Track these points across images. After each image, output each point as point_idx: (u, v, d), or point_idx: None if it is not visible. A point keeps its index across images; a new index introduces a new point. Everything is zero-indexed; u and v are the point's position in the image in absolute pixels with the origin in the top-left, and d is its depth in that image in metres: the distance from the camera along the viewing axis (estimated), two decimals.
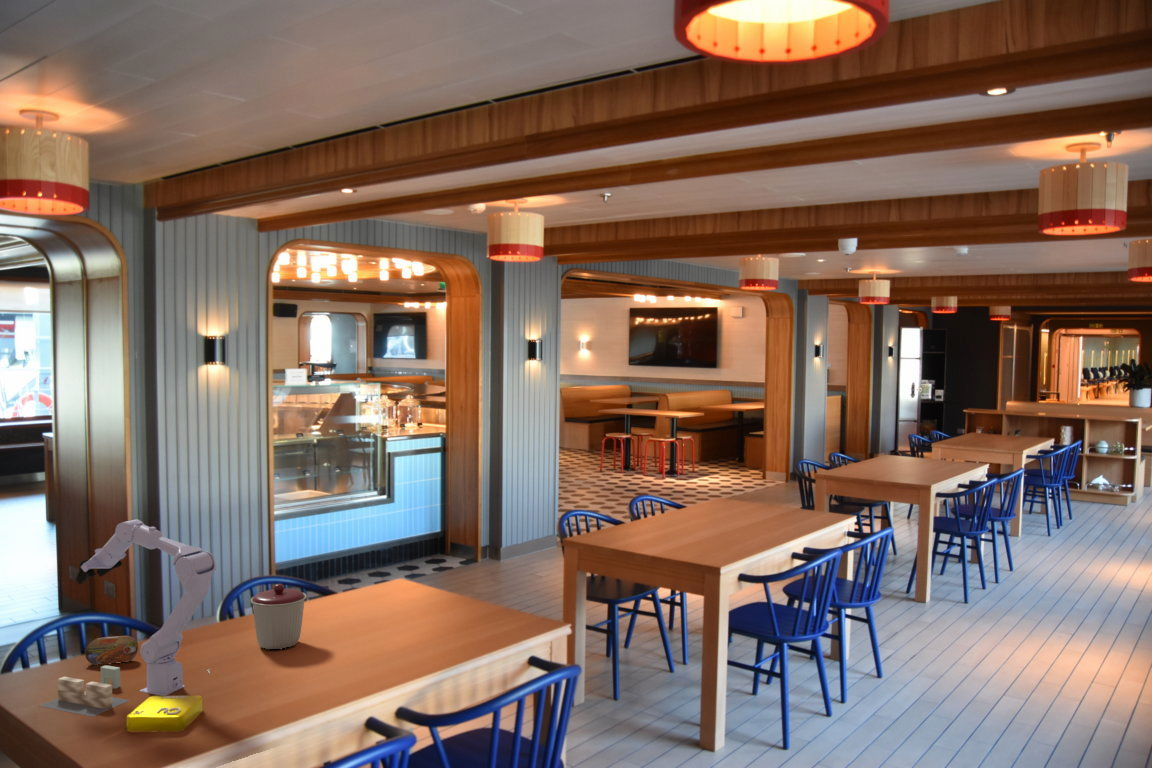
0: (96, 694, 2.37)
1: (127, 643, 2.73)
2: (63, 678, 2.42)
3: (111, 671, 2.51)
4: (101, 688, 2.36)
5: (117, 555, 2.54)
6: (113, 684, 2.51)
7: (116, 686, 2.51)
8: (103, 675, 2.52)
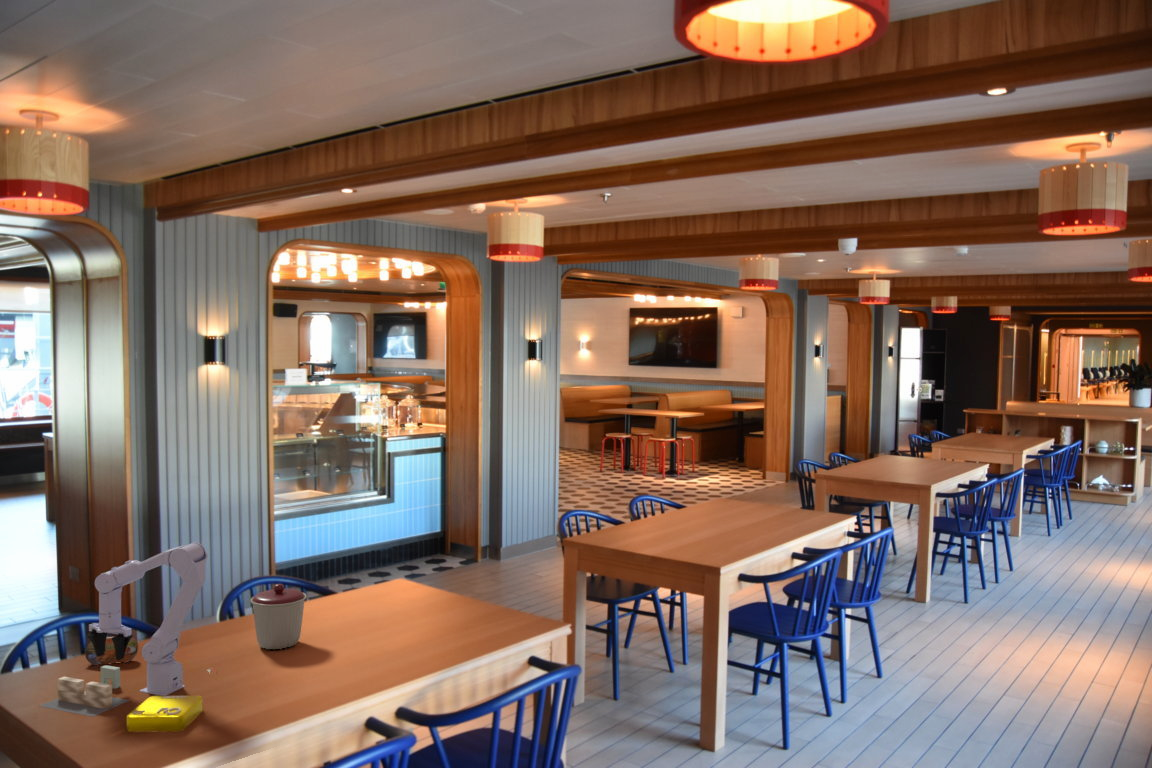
0: (96, 694, 2.37)
1: None
2: (63, 678, 2.42)
3: (111, 671, 2.51)
4: (101, 688, 2.36)
5: (116, 610, 2.51)
6: (113, 684, 2.51)
7: (116, 686, 2.51)
8: (103, 675, 2.52)
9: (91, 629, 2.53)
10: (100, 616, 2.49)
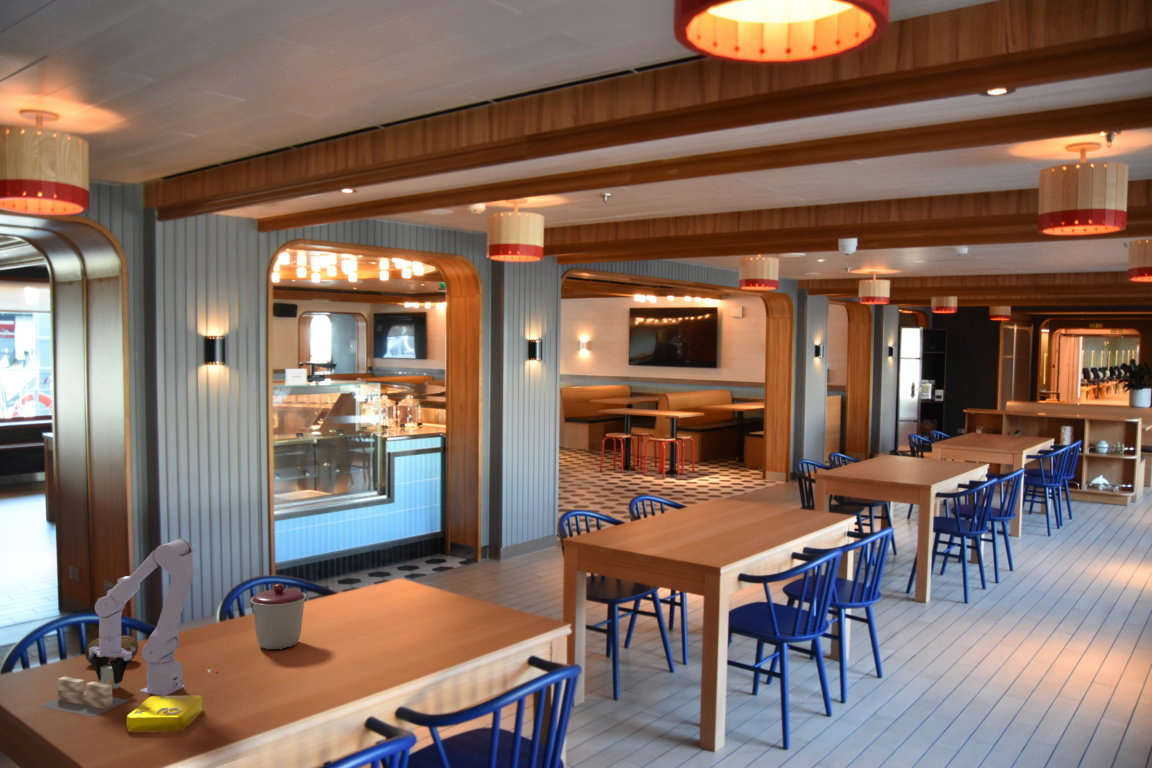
0: (96, 694, 2.37)
1: (127, 643, 2.73)
2: (63, 678, 2.42)
3: (111, 671, 2.51)
4: (101, 688, 2.36)
5: (116, 634, 2.51)
6: (113, 684, 2.51)
7: (116, 686, 2.51)
8: (103, 675, 2.52)
9: (91, 653, 2.53)
10: (100, 640, 2.50)
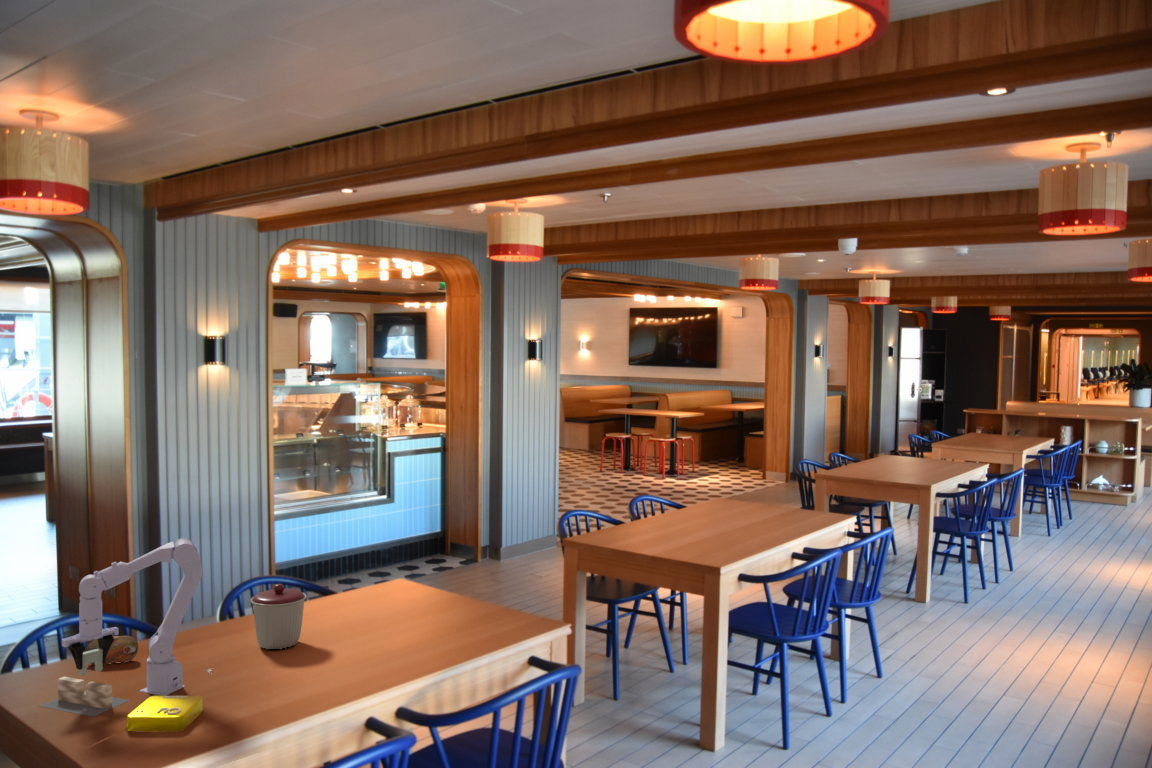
0: (96, 694, 2.37)
1: (127, 643, 2.73)
2: (63, 678, 2.42)
3: (97, 653, 2.43)
4: (101, 688, 2.36)
5: (101, 615, 2.43)
6: (100, 665, 2.44)
7: None
8: (86, 661, 2.41)
9: (68, 644, 2.37)
10: (92, 623, 2.40)
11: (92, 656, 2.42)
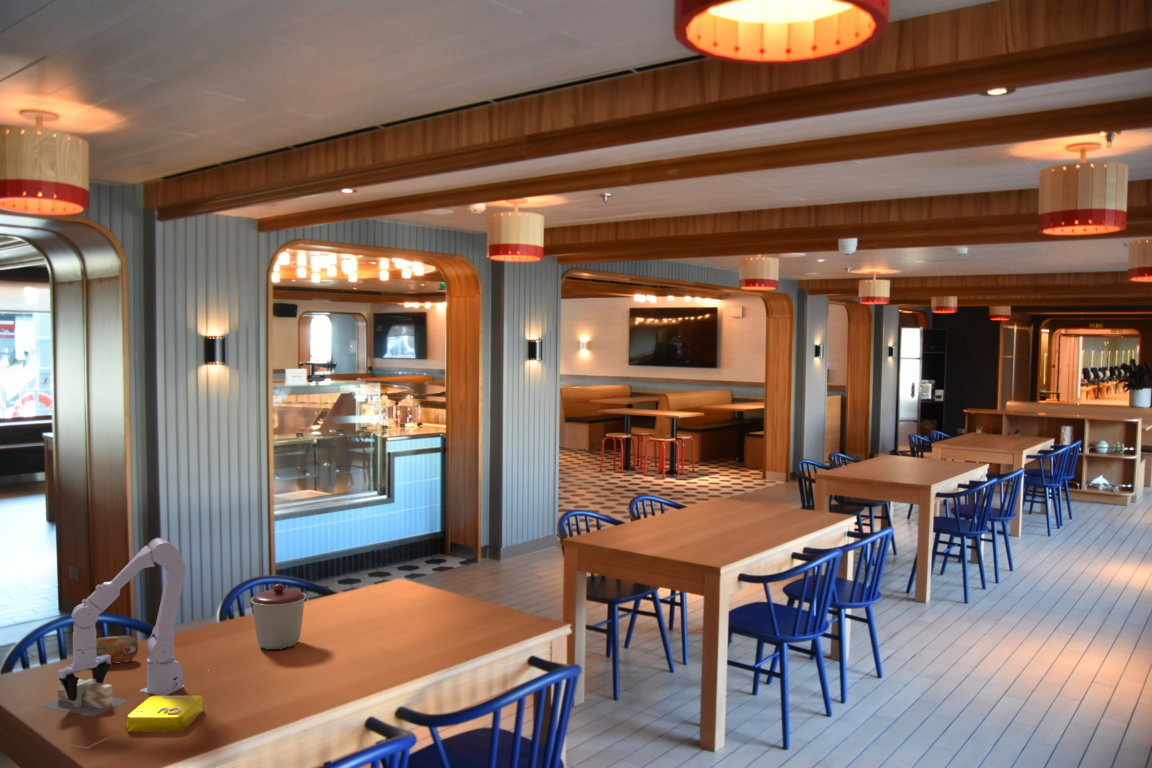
0: (96, 694, 2.37)
1: (127, 643, 2.73)
2: None
3: None
4: (101, 688, 2.36)
5: (95, 643, 2.40)
6: None
7: None
8: (82, 692, 2.38)
9: (65, 675, 2.33)
10: (89, 652, 2.38)
11: None
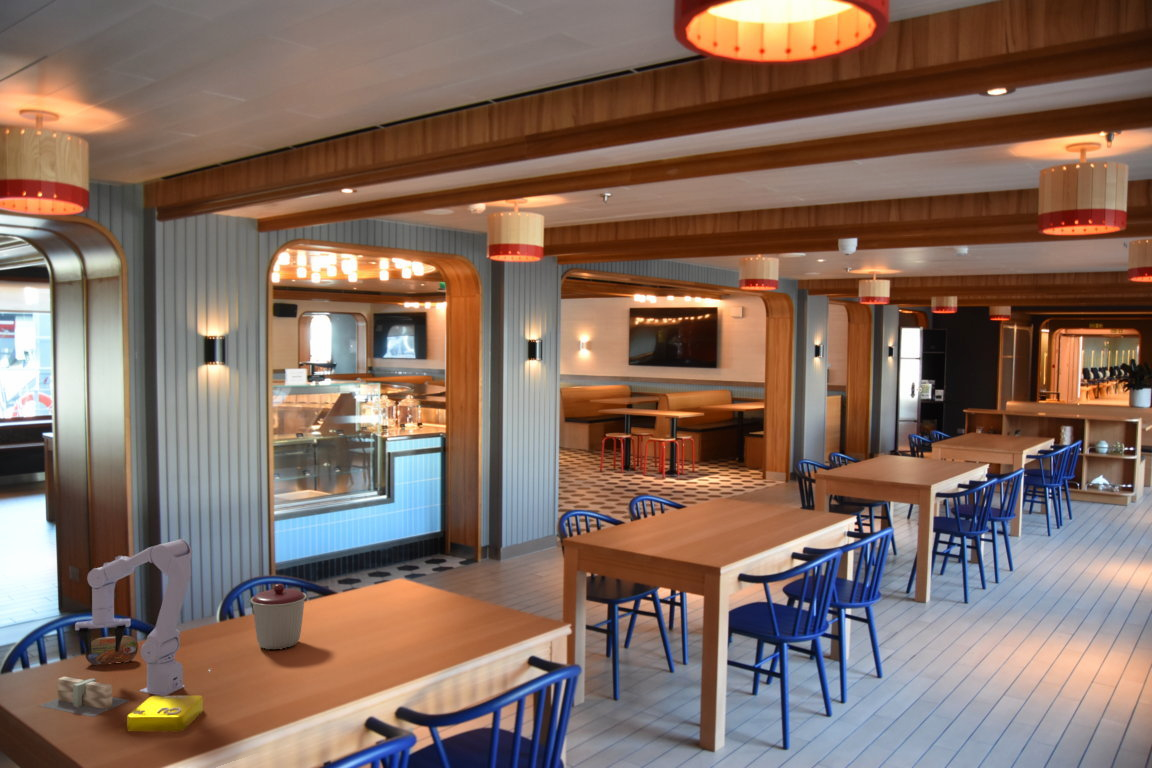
0: (96, 694, 2.37)
1: (127, 643, 2.73)
2: (63, 678, 2.42)
3: None
4: (101, 688, 2.36)
5: (108, 605, 2.54)
6: None
7: None
8: (82, 692, 2.38)
9: (78, 628, 2.53)
10: (98, 611, 2.53)
11: None
